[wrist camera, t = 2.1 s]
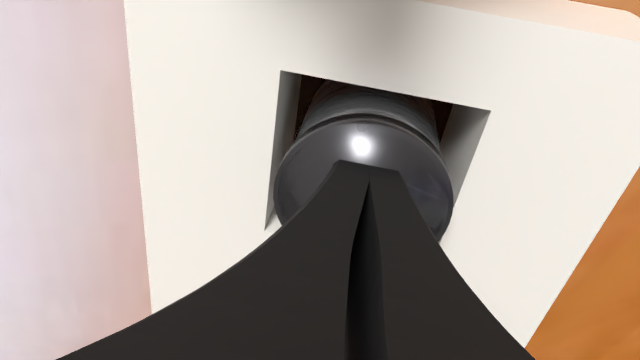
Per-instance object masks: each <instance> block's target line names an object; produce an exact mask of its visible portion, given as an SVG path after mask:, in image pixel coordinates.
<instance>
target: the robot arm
mask: <svg viewBox="0 0 640 360" xmlns="http://www.w3.org/2000/svg"><path fill="white" fill-rule="evenodd" d="M56 360H535V359H534V358H533V357H532V356H531V355H530V354H529V353H528V352H527V351H526V350H525V349H524V348H523V347H522V346H521V344H520V343H519V342H518V341H517V340H516V339H515V338H514V337H513V336H512V335H511V334H510V333H509V332H508V331H507V330H506V329H505V328H504V327H503V326H502V325H501V323H500V322H499V321H498V320H497V319H496V318H495V317H494V316H493V315H492V313H491V312H490V311H489V310H488V309H487V307H486V306H485V305H484V304H483V303H482V301H481V300H480V299H479V298H478V297H477V295H476V294H475V293H474V292H473V291H472V289H471V288H470V287H469V286H468V284H467V283H466V282H465V281H464V279H463V278H462V277H461V275H460V274H459V273H458V271H457V270H456V268H455V267H454V266H453V264H452V263H451V261H450V260H449V258H448V257H447V255H446V254H445V252H444V251H443V249H442V248H441V246H440V245H439V243H438V242H437V240H436V238H435V237H434V235H433V233H432V232H431V230H430V228H429V227H428V225H427V223H426V222H425V220H424V218H423V216H422V214H421V213H420V211H419V209H418V207H417V205H416V203H415V201H414V200H413V198H412V196H411V194H410V192H409V190H408V188H407V186H406V184H405V182H404V179H403V177H402V176H401V174H400V173H399V171H396V170H391V169H386V168H381V167H376V166H371V165H366V164H361V163H356V162H351V161H346V160H341V159H340V160H338V161H336V162H335V163H334V164H333V166H332V168H331V170H330V171H329V173H328V175H327V176H326V177H325V179H324V180H323V182H322V183H321V184H320V185H319V187H318V188H317V189H316V190H315V192H314V193H313V194H312V195H311V196H310V197H309V198H308V200H307V201H306V202H305V203H304V204H303V205H302V206H301V207H300V209H299V210H298V211H297V212H296V213H295V214H294V215H292V216H291V217H290V218H289V219H288V220H287V221H286V222H285V223H284V224H283V225H282V226H281V227H280V228H279V229H278V230H277V231H276V232H275V233H274V234H272V235H271V236H270V237H269V238H268V239H267V240H265V241H264V242H263V243H262V244H261V245H259V246H258V247H257V248H256V249H254V250H253V251H252V252H250V253H249V254H248V255H247V256H245V257H244V258H243V259H241V260H240V261H239V262H237V263H236V264H234V265H233V266H231V267H230V268H228V269H227V270H226V271H224V272H223V273H221V274H220V275H218V276H217V277H215V278H214V279H212V280H211V281H209V282H208V283H206V284H205V285H203V286H201V287H200V288H198V289H197V290H195V291H193V292H192V293H190V294H188V295H186V296H184V297H183V298H181V299H179V300H177V301H175V302H174V303H172V304H170V305H168V306H166V307H165V308H163V309H161V310H159V311H157V312H155V313H154V314H152V315H150V316H148V317H146V318H145V319H143V320H141V321H139V322H137V323H135V324H133V325H131V326H129V327H127V328H125V329H123V330H121V331H119V332H116V333H114V334H112V335H110V336H108V337H105V338H103V339H101V340H99V341H96V342H94V343H92V344H90V345H88V346H85V347H83V348H81V349H79V350H77V351H74V352H72V353H70V354H68V355H66V356H63V357H61V358H59V359H56Z"/></svg>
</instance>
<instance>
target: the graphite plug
mask: <svg viewBox="0 0 640 360" xmlns="http://www.w3.org/2000/svg"><path fill="white" fill-rule="evenodd" d="M340 159H341V160H346V161H351V162H356V163H361V164H366V165H371V166H376V167H381V168H386V169H391V170H396V171H399V173H400V174H401V176H402V177H403V179H404V182H405V184H406V186H407V188H408V190H409V192H410V194H411V196H412V198H413V200H414V201H415V203H416V205H417V207H418V209H419V211H420V213H421V214H422V216H423V218H424V220H425V222H426V223H427V225H428V227H429V228H430V230H431V232H432V233H433V235H434V237H435V238H436V240H437V242H439V241H440V239H441V238H442V236H443V235H444V233H445V232H446V230H447V228H448V226H449V223H450V220H451V217H452V213H453V205H454V203H453V191H452V185H451V180H450V175H449V171H448V168H447V165H446V163H445V161H444V159H443V157H442V155H441V150H440V144H439V138H438V132H437V126H436V120H435V114H434V110H433V106H432V103H431V100H430V99H428V98H423V97H418V96H413V95H408V94H402V93H397V92H392V91H387V90H382V89H376V88H371V87H366V86H361V85H356V84H350V83H345V82H340V81H335V80H330V79H327V80H326V81H325V82H324V83H323V84H322V85H321V86H320V87H319V89H318V90H317V91H316V93H315V95H314V96H313V98H312V101H311V103H310V105H309V108H308V110H307V113H306V115H305V118H304V120H303V123H302V125H301V128H300V130H299V133H298V135H297V138H296V140H295V141H294V142H293V143H292V145H291V146H290V147H289V148H288V150H287V152H286V154H285V156H284V158H283V160H282V162H281V165H280V167H279V169H278V172H277V175H276V178H275V182H274V188H273V200H274V207H275V211H276V214H277V217H278V219H279V221H280V224H281V225H283V224H284V223H285V222H286V221H287V220H288V219H289V218H290V217H291V216H292V215H294V214H295V213H296V212H297V211H298V210H299V209H300V207H301V206H302V205H303V204H304V203H305V202H306V201H307V200H308V198H309V197H310V196H311V195H312V194H313V193H314V192H315V190H316V189H317V188H318V187H319V185H320V184H321V183H322V182H323V180H324V179H325V177H326V176H327V175H328V173H329V171H330V170H331V168H332V166H333V164H334V163H335V162H336V161H338V160H340Z"/></svg>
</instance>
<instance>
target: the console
mask: <svg viewBox="0 0 640 360" xmlns="http://www.w3.org/2000/svg"><path fill="white" fill-rule="evenodd" d="M124 10H125V21H126V32H127V43H128V54H129V65H130V76H131V87H132V98H133V109H134V120H135V131H136V142H137V153H138V164H139V175H140V186H141V197H142V208H143V219H144V230H145V241H146V251H147V262H148V273H149V284H150V295H151V306H152V314H154V313H155V312H157V311H159V310H161V309H163V308H165V307H166V306H168V305H170V304H172V303H174V302H175V301H177V300H179V299H181V298H183V297H184V296H186V295H188V294H190V293H192V292H193V291H195V290H197V289H198V288H200V287H201V286H203V285H205V284H206V283H208V282H209V281H211V280H212V279H214V278H215V277H217V276H218V275H220V274H221V273H223V272H224V271H226V270H227V269H228V268H230V267H231V266H233V265H234V264H236V263H237V262H239V261H240V260H241V259H243V258H244V257H245V256H247V255H248V254H249V253H250V252H252V251H253V250H254V249H256V248H257V247H258V246H259V245H261V244H262V243H263V242H264V241H265V240H267V239H268V238H269V237H270V236H271V235H272V234H274V233H275V232H276V231H277V230H278V229H279V228H280V227H281V226H282V225H281V224H280V221H279V219H278V217H277V214H276V211H275V207H274V200H273V188H274V182H275V178H276V175H277V172H278V169H279V167H280V165H281V162H282V160H283V158H284V156H285V154H286V152H287V150H288V148H289V147H290V146H291V145H292V143H293V140H294V133H295V125H296V117H297V109H298V101H299V93H300V86H301V78H302V74H304V75H309V76H314V77H319V78H324V79H330V80H335V81H340V82H345V83H350V84H356V85H361V86H366V87H371V88H376V89H382V90H387V91H392V92H397V93H402V94H408V95H413V96H418V97H423V98H428V99H434V100H439V101H444V102H449V103H453V106H452V109H451V112H450V115H449V118H448V121H447V124H446V127H445V130H444V133H443V136H442V139H441V142H440V150H441V155H442V157H443V159H444V161H445V163H446V165H447V168H448V171H449V175H450V180H451V185H452V191H453V203H454V205H453V213H452V217H451V220H450V223H449V226H448V228H447V230H446V232H445V233H444V235H443V236H442V238H441V239H440V241H439V242H438V243H439V245H440V246H441V248H442V249H443V251H444V252H445V254H446V255H447V257H448V258H449V260H450V261H451V263H452V264H453V266H454V267H455V268H456V270H457V271H458V273H459V274H460V275H461V277H462V278H463V279H464V281H465V282H466V283H467V284H468V286H469V287H470V288H471V289H472V291H473V292H474V293H475V294H476V295H477V297H478V298H479V299H480V300H481V301H482V303H483V304H484V305H485V306H486V307H487V309H488V310H489V311H490V312H491V313H492V315H493V316H494V317H495V318H496V319H497V320H498V321H499V322H500V323H501V325H502V326H503V327H504V328H505V329H506V330H507V331H508V332H509V333H510V334H511V335H512V336H513V337H514V338H515V339H516V340H517V341H518V342H519V343H520V344H521V346H522V347H523V348H525V346H526V345H527V343H528V342H529V340H530V338H531V337H532V335H533V334H534V332H535V330H536V329H537V327H538V326H539V324H540V323H541V321H542V319H543V318H544V316H545V315H546V313H547V312H548V310H549V308H550V307H551V305H552V304H553V302H554V300H555V299H556V297H557V296H558V294H559V293H560V291H561V289H562V288H563V286H564V285H565V283H566V282H567V280H568V278H569V277H570V275H571V274H572V272H573V270H574V269H575V267H576V266H577V264H578V263H579V261H580V259H581V258H582V256H583V255H584V253H585V251H586V250H587V248H588V247H589V245H590V244H591V242H592V240H593V239H594V237H595V236H596V234H597V233H598V231H599V229H600V228H601V226H602V225H603V223H604V221H605V220H606V218H607V217H608V215H609V214H610V212H611V210H612V209H613V207H614V206H615V204H616V203H617V201H618V199H619V198H620V196H621V195H622V193H623V191H624V190H625V188H626V187H627V185H628V184H629V182H630V180H631V179H632V177H633V176H634V174H635V173H636V171H637V169H638V168H639V166H640V18H639V17H638V16H636V15H634V14H632V13H630V12H628V11H624V10H619V9H613V8H608V7H602V6H597V5H591V4H586V3H580V2H575V1H569V0H124Z"/></svg>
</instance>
